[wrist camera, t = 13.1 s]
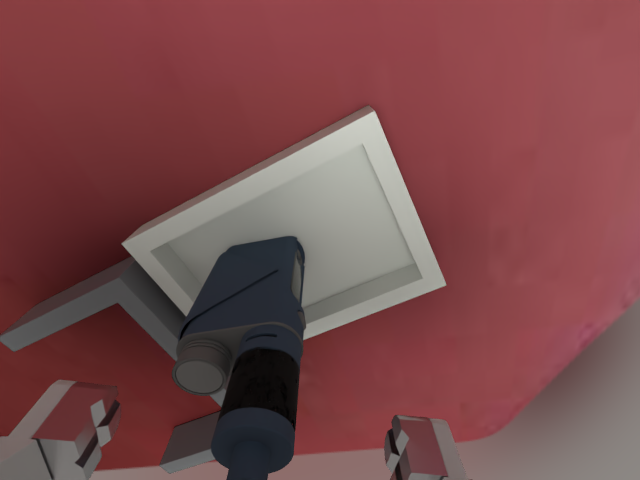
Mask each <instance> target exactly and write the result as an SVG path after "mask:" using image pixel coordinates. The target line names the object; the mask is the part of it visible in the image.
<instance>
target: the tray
mask: <svg viewBox="0 0 640 480" xmlns="http://www.w3.org/2000/svg"><path fill="white" fill-rule="evenodd" d="M285 236H294V237H297V240H298V241H299V243H300V244H301V245H302V247H303V250H304V253H305V262H304V266H305V270H304V281H303V293H302V304H301V306H302V308H303V310H304V314H305V321H306V329H305V330H304V337H303V340H305V339H308V338H310V337H313V336H315V335H318V334H321V333H323V332H326V331H328V330H331V329H334V328H336V327H339V326H341V325H344V324H347V323H349V322H352V321H355V320H357V319H360V318H362V317H365V316H368V315H370V314H373V313H375V312H378V311H381V310H383V309H386V308H388V307H391V306H394V305H396V304H399V303H402V302H404V301H407V300H409V299H412V298H415V297H417V296H420V295H422V294H425V293H428V292H430V291H433V290H435V289H438V288H441V287H443V286H446V282H445V280H444V278H443V275H442V273H441V270H440V268H439V265H438V263H437V261H436V258H435V256H434V253H433V251H432V248H431V246H430V244H429V241H428V239H427V236H426V234H425V231H424V229H423V227H422V224H421V222H420V219H419V217H418V214H417V212H416V210H415V207H414V205H413V202H412V200H411V197H410V195H409V193H408V190H407V188H406V185H405V183H404V180H403V178H402V176H401V173H400V171H399V168H398V166H397V163H396V161H395V159H394V156H393V154H392V151H391V149H390V146H389V144H388V142H387V139H386V137H385V134H384V132H383V129H382V127H381V125H380V122H379V120H378V117H377V115H376V113H375V110H373V109H372V108H371V107H370V106H369V105H367V106H365V107H364V108H362V109H360V110H358V111H356V112H354V113H352V114H350V115H349V116H347V117H345V118H343V119H341V120H339V121H337V122H335V123H333V124H332V125H330V126H328V127H326V128H324V129H322V130H320V131H318V132H317V133H315V134H313V135H311V136H309V137H307V138H305V139H303V140H301V141H300V142H298V143H296V144H294V145H292V146H290V147H288V148H286V149H284V150H283V151H281V152H279V153H277V154H275V155H273V156H271V157H269V158H268V159H266V160H264V161H262V162H260V163H258V164H256V165H254V166H252V167H251V168H249V169H247V170H245V171H243V172H241V173H239V174H237V175H236V176H234V177H232V178H230V179H228V180H226V181H224V182H222V183H220V184H219V185H217V186H215V187H213V188H211V189H209V190H207V191H205V192H204V193H202V194H200V195H198V196H196V197H194V198H192V199H190V200H188V201H187V202H185V203H183V204H181V205H179V206H177V207H175V208H173V209H171V210H170V211H168V212H166V213H164V214H162V215H160V216H158V217H156V218H155V219H153V220H151V221H149V222H147V223H145V224H143V225H142V226H140V227H139V228H138V229H137V230H136V231H135V232H134V233H133V234H132V235H130V236H129V237H128V238H127V239H126V240H125V241H124V242H123V243H122V245H123V246H124V247H125V248H126V250H127V251H128V252H129V253H130V254H131V255H132V256H133V257H134V259H135V260H136V261H137V262H138V263H139V264H140V265H141V266H142V267H143V269H144V270H145V271H146V272H147V273H148V274H149V275H150V276H151V278H152V279H153V280H154V281H155V282H156V283H157V284H158V285H159V287H160V288H161V289H162V290H163V291H164V292H165V293H166V294H167V295H168V297H169V298H170V299H171V300H172V301H173V302H174V303H175V304H176V306H177V307H178V308H179V309H180V310H181V311H182V312H183V313H184V315H185V316H186V317H187V315H188V313H189V311H190V309H191V307H192V306H193V304H194V302H195V300H196V298H197V296H198V294H199V293H200V291H201V289H202V287H203V285H204V283H205V281H206V279H207V278H208V276H209V274H210V272H211V270H212V268H213V266H214V265H215V263H216V261H217V259H218V257H219V256H220V255H221V254H222V253H224V252H226V251H227V249H228V248H230V247H232V246H235V245H240V244H246V243H251V242H257V241H262V240H268V239H274V238H279V237H285Z"/></svg>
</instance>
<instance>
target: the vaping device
mask: <svg viewBox="0 0 640 480" xmlns="http://www.w3.org/2000/svg"><path fill="white" fill-rule="evenodd" d="M304 262H305V253H304V250H303V247H302V245H301V244H300V243H299V241H298V240H297V237H294V236H285V237H279V238H274V239H268V240H262V241H257V242H251V243H246V244H240V245H235V246H232V247H230V248H228V249H227V251H226V252H224V253H222V254H221V255H220V256H219V257H218V259H217V261H216V263H215V265H214V266H213V268H212V270H211V272H210V274H209V276H208V278H207V279H206V281H205V283H204V285H203V287H202V289H201V291H200V293H199V294H198V296H197V298H196V300H195V302H194V304H193V306H192V307H191V309H190V311H189V313H188V315H187V317H186V319H185V321H184V322H183V324H182V326H181V328H180V331H179V334H178V344H177V347H176V355H177V358H178V359H177V361H176V363H175V365H174V367H173V370H172V378H173V380H174V382H175V383H176V384H177V385H178V386H179V387H180V388H181V389H182V390H184V391H186V392H188V393H191V394H194V395H200V396H208V395H213V394H216V393H218V392H220V391H221V390H222V389H223V388H224V387H225V385H226V383H227V379H228V376H231V377H230V380H229V383H228V387H227V390H226V394H225V397H224V400H223V404H222V407H221V411H220V414H219V418H218V421H217V425H216V428H215V431H214V435H213V438H212V441H211V452H212V454H213V456H214V458H215V459H216V460H217V461H218V462H219V463H220V464H221V465H223V466H225V467H226V468H228V469H229V471H228V476H227V480H267V478H268V473H272V472H275V471H278V470H280V469H282V468H283V467H285V466H286V465H287V464H289V462H290V461H291V459H292V457H293V454H294V440H295V425H296V413H297V400H298V387H299V373H300V360H301V356H302V354H303V337H304V330H305V329H306V321H305V314H304V310H303V308H302V306H301V304H302V293H303V281H304V270H305V266H304ZM292 423H293V425H292Z"/></svg>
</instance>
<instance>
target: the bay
mask: <svg viewBox="0 0 640 480" xmlns="http://www.w3.org/2000/svg"><path fill="white" fill-rule="evenodd" d="M116 303H119V304H120V305H121V306H122V307H123V309H124V310H125V311H126V312H127V313H128V314H129V315H130V316H131V317H132V318H133V319H134V320H135V321H136V322H137V323H138V324H139V325H140V326H141V327H142V328H143V329H144V330H145V331H146V332H147V333H148V334H149V335H150V336H151V337H152V338H153V339H154V340H155V341H156V342H157V343H158V344H159V345H160V346H161V347H162V348H163V349H164V350H165V351H166V352H167V353H168V354H169V355H170V356H171V357H172V358H173V359H174V360H175V361H177V359H178V358H177V355H176V347H177V344H178V334H179V331H180V328H181V326H182V324H183V322H184V321H185V319H186V316H185V315H184V313H183V312H182V311H181V310H180V309H179V308H178V307H177V306H176V304H175V303H174V302H173V301H172V300H171V299H170V298H169V297H168V295H167V294H166V293H165V292H164V291H163V290H162V289H161V288H160V287H159V285H158V284H157V283H156V282H155V281H154V280H153V279H152V278H151V276H150V275H149V274H148V273H147V272H146V271H145V270H144V269H143V267H142V266H141V265H140V264H139V263H138V262H137V261H136V260H135V259H134V257H133V256H131V257H129V258H127V259H125V260H123V261H121V262H119V263H117V264H115V265H113V266H111V267H109V268H107V269H105V270H103V271H101V272H99V273H97V274H95V275H93V276H91V277H90V278H88V279H86V280H84V281H82V282H80V283H78V284H76V285H74V286H72V287H70V288H68V289H66V290H64V291H62V292H60V293H58V294H56V295H54V296H52V297H50V298H48V299H46V300H44V301H42V302H40V303H38V304H37V305H35V306H34V307H33V308H32V309H30V310H29V311H28V312H27V313H26V314H25V315H23V316H22V317H21V318H20V319H19V320H17V321H16V322H15V323H14V324H13V325H12V326H10V327H9V328H8V329H7V330H6V331H4V332H3V333H2V334H1V335H0V341H1V342H2V343H3V344H4V345H6V346H7V347H8V348H10V349H11V350H12V351H13V352H15V351H17V350H19V349H21V348H23V347H25V346H27V345H30V344H32V343H34V342H36V341H38V340H40V339H42V338H44V337H46V336H48V335H51V334H53V333H55V332H57V331H59V330H61V329H63V328H65V327H67V326H69V325H72V324H74V323H76V322H78V321H80V320H82V319H84V318H86V317H88V316H90V315H93V314H95V313H97V312H99V311H101V310H103V309H105V308H107V307H109V306H111V305H114V304H116ZM230 377H231V376H228V379H227V383H226V385H225V387H224V388H223V389H222V390H221V391H220V392H218V393H216V394H213V395H210V396H211V397H212V398H213V399H214V400H215V401H216V402H217V403H218V404H219V405H220V406H221V407H222V404H223V400H224V397H225V394H226V390H227V387H228V383H229V380H230ZM219 414H220V411H219V412H216V413H213V414H211V415H208V416H205V417H202V418H199V419H196V420H194V421H191V422H188V423H185V424H182V425H179V426H176V427H175V428H174V430H173V433H172V435H171V438H170V440H169V443H168V445H167V448H166V450H165V453H164V455H163V457H162V460H161V462H160V465H159V466H160V467H162V468H163V469H164V470H165V471H167V472H168V473H174V472H176V471H180V470H183V469H186V468H189V467H193V466H196V465H199V464H202V463H205V462H208V461H212V460H215V458H214V456H213V454H212V452H211V441H212V438H213V435H214V431H215V428H216V425H217V421H218V418H219Z"/></svg>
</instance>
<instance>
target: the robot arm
mask: <svg viewBox="0 0 640 480" xmlns="http://www.w3.org/2000/svg"><path fill="white" fill-rule="evenodd" d="M117 396H118V390H117V386H110V385H102V384H93V383H85V382H78V381H68V380H57V381H56V382H55V383H53V384H52V385H51V386H50V387H49V388H48V389H47V390H46V392H45V393H44V394H43V395H42V396H41V398H40V399H39V400H38V401H37V402H36V404H35V405H34V406H33V407H32V408H31V409H30V411H29V412H28V413H27V414H26V415H25V417H24V418H23V419H22V420H21V421H20V423H19V424H18V425H17V426H16V427H15V429H14V430H13V431H12V432H11V433H10V434H9V436H8V437H5V436H1V437H0V480H89V478H90V477H91V474H92V473H93V471H94V469H95V468H96V466H97V464H98V462H99V461H100V459H101V457H102V453H101V447H102V446H103V445H104V444H106V443H107V442H109V441H110V440H111V439H112V437H113V435H114V433H115V431H116V430H117V427H118V424H119V421H120V418H121V405H120V403H119V402H117V401H116V400H115V399H116V397H117ZM392 427H393V428H392V429H390V430H389V431H388V432H387V435H386V438H385V446H384V450H385V460H386V466H387V467H388V468H389V470H390V471H391V472H392V476H391V478H390V480H472V479H468V478H467V476H466V473H465V470H464V467H463V464H462V462H461V459H460V456H459V453H458V450H457V448H456V445H455V442H454V439H453V437H452V434H451V431H450V428H449V425H448V423H447V422H446V421H445V420H443V419H433V418H427V417H416V416H405V415H395V416H394V417H393V419H392Z"/></svg>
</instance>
